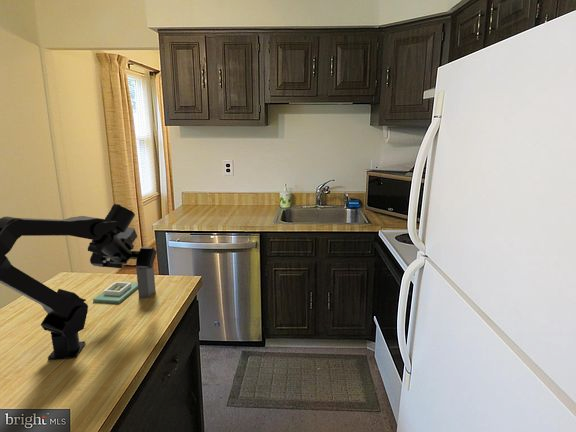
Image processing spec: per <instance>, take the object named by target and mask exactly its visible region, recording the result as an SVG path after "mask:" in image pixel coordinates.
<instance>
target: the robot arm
mask: <svg viewBox="0 0 576 432" xmlns="http://www.w3.org/2000/svg"><path fill="white" fill-rule="evenodd" d="M135 216H136V214H135V213H134V211H132V209H131V210H130V209H129V208H126V207H124V206H122V205H120V204H118V203H113V205H112V206H111V207H110V210H109V212H108V214H107V215H106V216H105V218H99V217H93V216H86V215H79V216H78V215H77V216H71V217H68V218H64V219H54V218H53V219H51V218H28V217H27V218H25V217H13V216H3V217H0V284H2V285H4V286H5V287H7V288H8V289H11V290H13V291H14V292H17V293H18V294H20V295H22V296H23V297H26V298H27V299H29V300H32V301H33V302H35V303H37V305H38V304H39V305H40V306H41V307H42V308H43V310H44V311H45V312H46V315H45V317H44V318H43V320H42V322H41V323H40V326H41V327H42V329H43V330H44V331H46V332H50V336H51V343H52V351H51V353H50V354H49V355H48V357H47V359H48V360H49V361H50V360H60V359H61V360H62V359H73V358H76V357H78V356H79V354H80V352H81V351H82V349H83V348H84V346H85V345H86V341H85V340H84V341H80V336H79V332H81V331H82V330H84V329H85V327H86V326H85V325H86V320H87V314H88V311H89V305H88V303H87V302H86V301H87V299H85V298H82V297H80V296H79V295H78V294H77V293H75V292H73V291H69V290H65V289H61V288H58V289H57V291H55V290H54V289H52V288H51V287H48V286H47V285H46V284H43V283H42V282H40V281H39V280H38V279H36V278H34V277H32V276H30V275H29V274H27V273H25V272H24V271H22V270H21V269H19V268H17V267H15V266H14V265H12V263H11V261H10V260H9V258H8V257H7V256H6V255H7V254H8V253H10V252H11V250H12V248H13V247H14V245H15V244H16V242H17V241H18V240H19V238H21V237H22V236H24V237H25V236H26V237H27V236H28V237H29V236H31V237H34V236H39V237H41V236H42V237H43V236H44V237H45V236H46V237H47V236H48V237H49V236H52V237H53V236H54V237H55V236H56V237H57V236H61V237H64V236H71V237H76V238H82V239H87V240H91V241H90V242H89V244H88V247H87V251H88V252H90V253H91V256H90V257H89V258H90V259H89V262H90V265H92V266H94V267H98V268H99V267H100V268H112V269H123V265H127V263H128V261H129V260H136V261H135V267H136V266H137V267H139V269H146V270H149V269H150V268H152V266H153V265H154V262H155V259H156V255H157V252H158V251H157V250H156V249H155V248H154V247H151V246H142V247H140V249H139V250H134V247H135V245H134V242H135V241H136V239H137V238H138V234H137V231H136V229H135V227H133V226H132V227H130V224H131V223H132V221H133V219H135Z"/></svg>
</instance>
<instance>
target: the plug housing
mask: <svg viewBox="0 0 576 432" xmlns="http://www.w3.org/2000/svg"><path fill="white" fill-rule="evenodd" d="M135 268H136V281H137V282H136V283H138V288H137V291H138V293H137V294H138V297H139V298H146V299H148V298H150V297H151V296H152V295H153V294H154V293H156V281H155V269H154V268H155V266H154V264H153V266H152V268H150V269H149V270H146V269H139V267H137V266H136V265H135Z"/></svg>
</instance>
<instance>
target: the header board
mask: <svg viewBox="0 0 576 432" xmlns="http://www.w3.org/2000/svg"><path fill="white" fill-rule="evenodd" d="M136 290H138V282H130V281H129V282H127V281H114V283H112V284H111V285H109V286H108V287H107V288H105V289H104V290H103V291H102V292H101V293H100V294H98V295H96V296H95V297H94V298H92V302H93V303H104V304H121V303H122V302H124V300H125V299H127V298H128V297H129V296H131V294H133V293H134V292H135V291H136Z"/></svg>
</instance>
